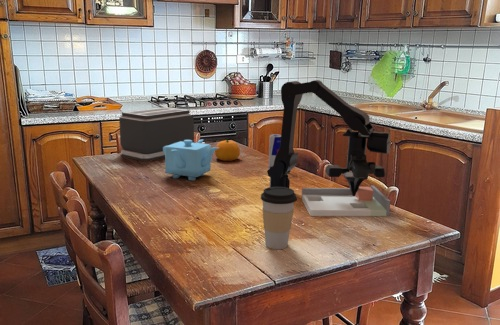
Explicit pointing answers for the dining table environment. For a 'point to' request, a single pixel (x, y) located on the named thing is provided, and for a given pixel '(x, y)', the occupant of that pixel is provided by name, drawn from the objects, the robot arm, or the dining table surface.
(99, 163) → the dining table surface
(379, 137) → the robot arm
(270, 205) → the coffee cup
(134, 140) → the toaster
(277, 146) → the beverage can
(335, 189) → the board
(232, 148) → the fruit
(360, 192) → the brick block
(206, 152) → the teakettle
